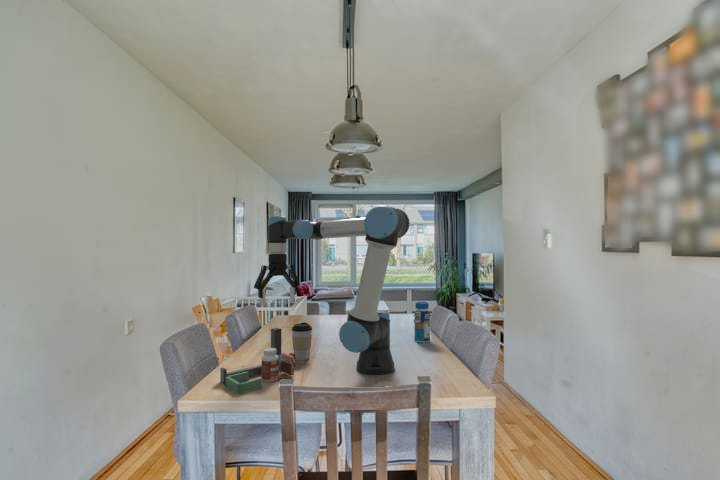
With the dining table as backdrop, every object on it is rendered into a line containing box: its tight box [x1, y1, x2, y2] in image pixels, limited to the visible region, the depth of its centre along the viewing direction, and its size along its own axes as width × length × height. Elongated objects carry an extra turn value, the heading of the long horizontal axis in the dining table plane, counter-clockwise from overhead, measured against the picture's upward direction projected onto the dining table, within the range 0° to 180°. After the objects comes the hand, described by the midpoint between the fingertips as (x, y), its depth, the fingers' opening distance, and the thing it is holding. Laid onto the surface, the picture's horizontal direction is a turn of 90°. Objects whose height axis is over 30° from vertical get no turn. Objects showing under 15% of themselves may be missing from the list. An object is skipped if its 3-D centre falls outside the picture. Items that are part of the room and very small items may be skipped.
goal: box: [224, 372, 263, 395], centre depth 136 cm, size 11×8×3 cm
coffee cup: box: [291, 322, 313, 361], centre depth 171 cm, size 9×9×15 cm
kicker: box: [270, 327, 296, 377], centre depth 151 cm, size 14×6×16 cm, turn 42°
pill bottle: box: [260, 347, 280, 383], centre depth 143 cm, size 6×6×11 cm
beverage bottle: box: [413, 301, 431, 344], centre depth 201 cm, size 8×8×20 cm
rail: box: [219, 352, 296, 385], centre depth 150 cm, size 3×30×5 cm, turn 132°
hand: (277, 304), depth 161 cm, fingers open, 13 cm apart
